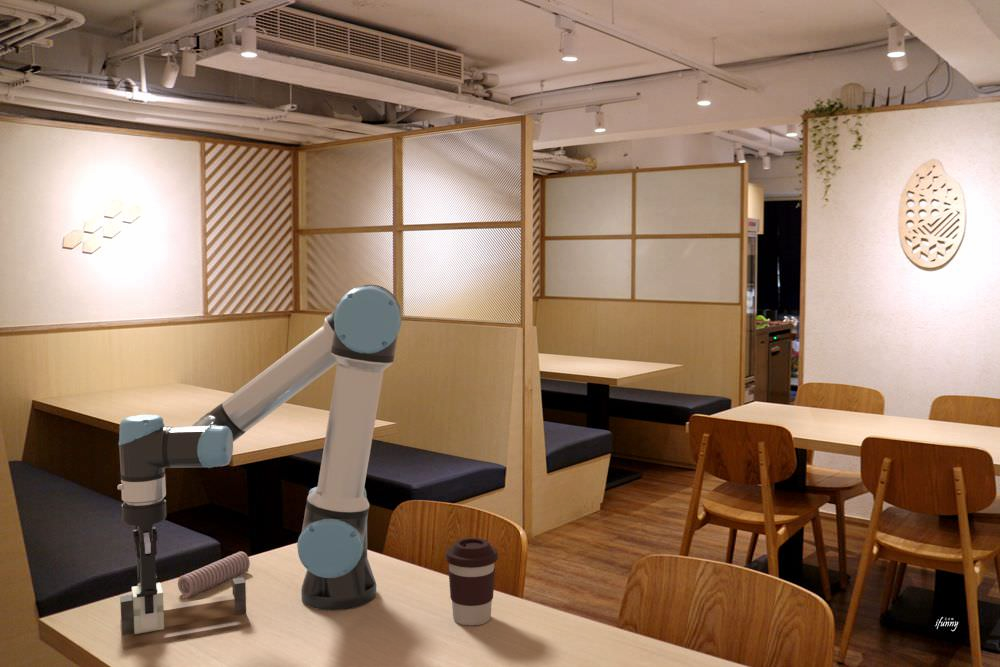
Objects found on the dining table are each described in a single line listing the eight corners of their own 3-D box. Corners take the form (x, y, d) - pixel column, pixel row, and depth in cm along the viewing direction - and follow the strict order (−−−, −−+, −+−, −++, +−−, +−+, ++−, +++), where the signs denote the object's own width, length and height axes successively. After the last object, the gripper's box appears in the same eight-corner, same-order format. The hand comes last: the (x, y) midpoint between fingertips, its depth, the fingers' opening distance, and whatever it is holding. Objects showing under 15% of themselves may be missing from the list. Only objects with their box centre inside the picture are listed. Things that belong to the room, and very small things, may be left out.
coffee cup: (508, 618, 166) (508, 542, 165) (471, 634, 159) (471, 555, 158) (471, 604, 173) (471, 531, 172) (435, 619, 166) (435, 543, 165)
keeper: (161, 617, 164) (160, 582, 163) (164, 629, 159) (162, 592, 158) (132, 622, 162) (131, 586, 161) (134, 634, 157) (133, 597, 156)
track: (239, 603, 173) (239, 569, 173) (250, 626, 163) (249, 590, 162) (120, 623, 164) (119, 588, 163) (123, 649, 153) (122, 611, 152)
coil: (191, 580, 175) (253, 553, 191) (174, 574, 177) (237, 548, 193) (190, 602, 175) (252, 573, 191) (173, 595, 177) (236, 567, 193)
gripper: (119, 490, 165) (123, 607, 167) (123, 516, 148) (128, 646, 150) (161, 485, 168) (165, 600, 170) (170, 510, 151) (174, 638, 153)
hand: (148, 621), depth 160 cm, fingers closed on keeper, 6 cm apart
